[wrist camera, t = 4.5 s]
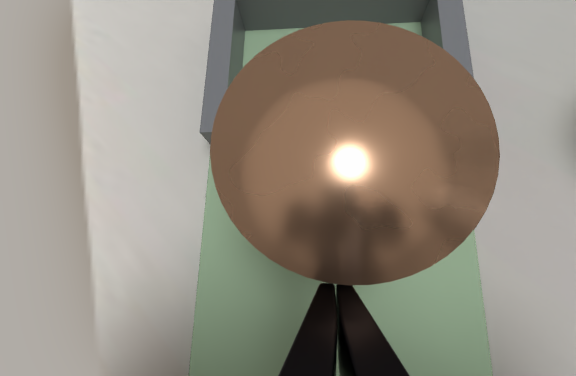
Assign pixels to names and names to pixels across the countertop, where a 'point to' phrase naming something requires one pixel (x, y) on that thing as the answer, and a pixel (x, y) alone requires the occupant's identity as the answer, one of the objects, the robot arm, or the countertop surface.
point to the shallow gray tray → (312, 11)
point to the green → (300, 291)
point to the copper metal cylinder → (354, 152)
